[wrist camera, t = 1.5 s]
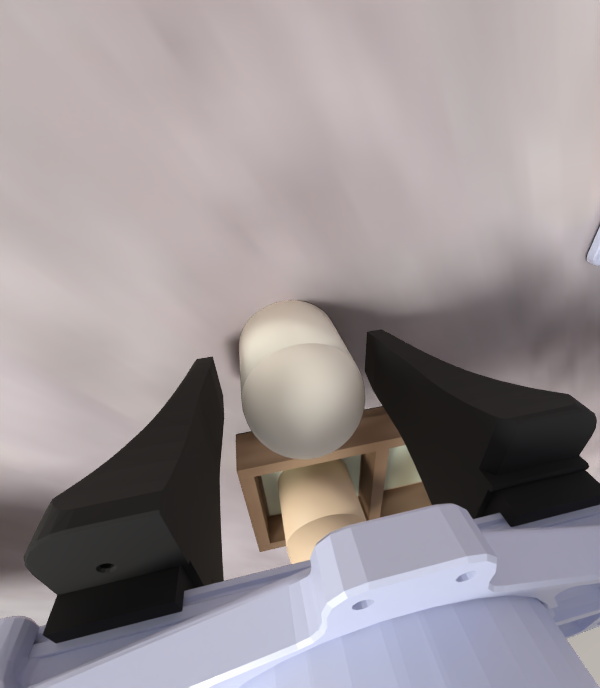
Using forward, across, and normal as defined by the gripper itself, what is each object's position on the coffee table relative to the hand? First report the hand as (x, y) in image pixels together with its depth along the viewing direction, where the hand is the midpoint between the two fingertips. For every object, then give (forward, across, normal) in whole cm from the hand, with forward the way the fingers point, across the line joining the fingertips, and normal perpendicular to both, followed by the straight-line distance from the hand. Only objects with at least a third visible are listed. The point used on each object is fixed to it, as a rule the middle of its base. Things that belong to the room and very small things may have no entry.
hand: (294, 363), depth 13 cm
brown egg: (+1, -1, +9) cm, 9 cm away
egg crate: (+1, -4, +9) cm, 10 cm away
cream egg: (+2, 0, 0) cm, 2 cm away
